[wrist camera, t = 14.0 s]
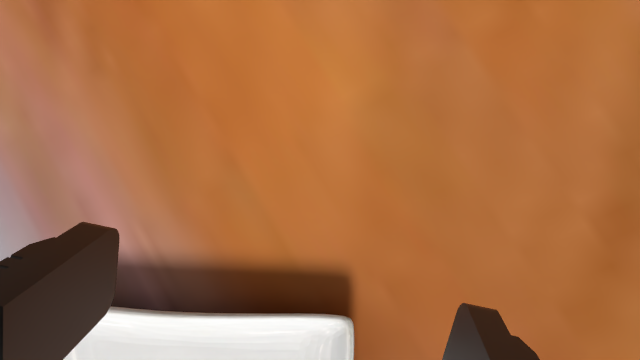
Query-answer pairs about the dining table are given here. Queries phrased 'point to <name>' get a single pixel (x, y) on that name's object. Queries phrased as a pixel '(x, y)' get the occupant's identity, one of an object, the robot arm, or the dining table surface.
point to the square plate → (216, 336)
